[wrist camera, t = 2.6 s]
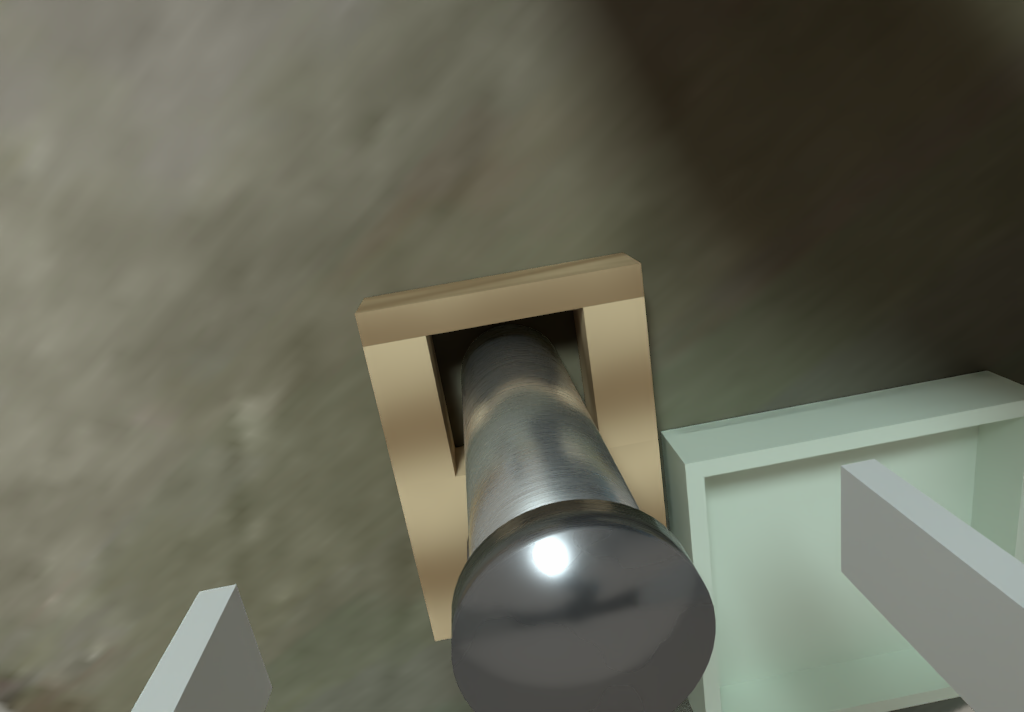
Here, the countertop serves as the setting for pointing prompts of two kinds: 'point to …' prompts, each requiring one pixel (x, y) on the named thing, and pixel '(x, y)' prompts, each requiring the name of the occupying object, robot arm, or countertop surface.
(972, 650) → the robot arm
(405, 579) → the countertop surface
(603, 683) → the pin
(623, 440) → the block
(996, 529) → the tray
